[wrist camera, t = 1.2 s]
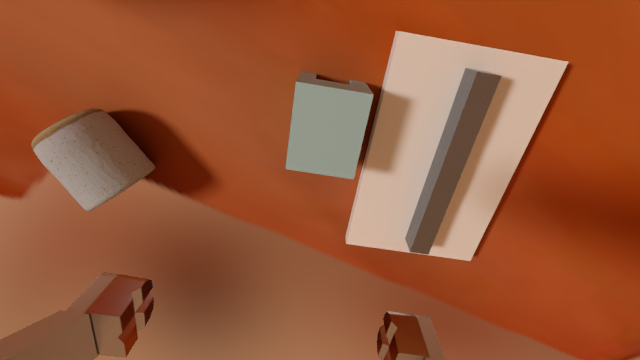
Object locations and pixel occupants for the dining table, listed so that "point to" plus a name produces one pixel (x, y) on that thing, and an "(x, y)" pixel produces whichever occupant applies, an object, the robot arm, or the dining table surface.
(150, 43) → the dining table surface
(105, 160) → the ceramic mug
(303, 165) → the channel block
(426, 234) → the metal rail
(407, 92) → the mounting board
